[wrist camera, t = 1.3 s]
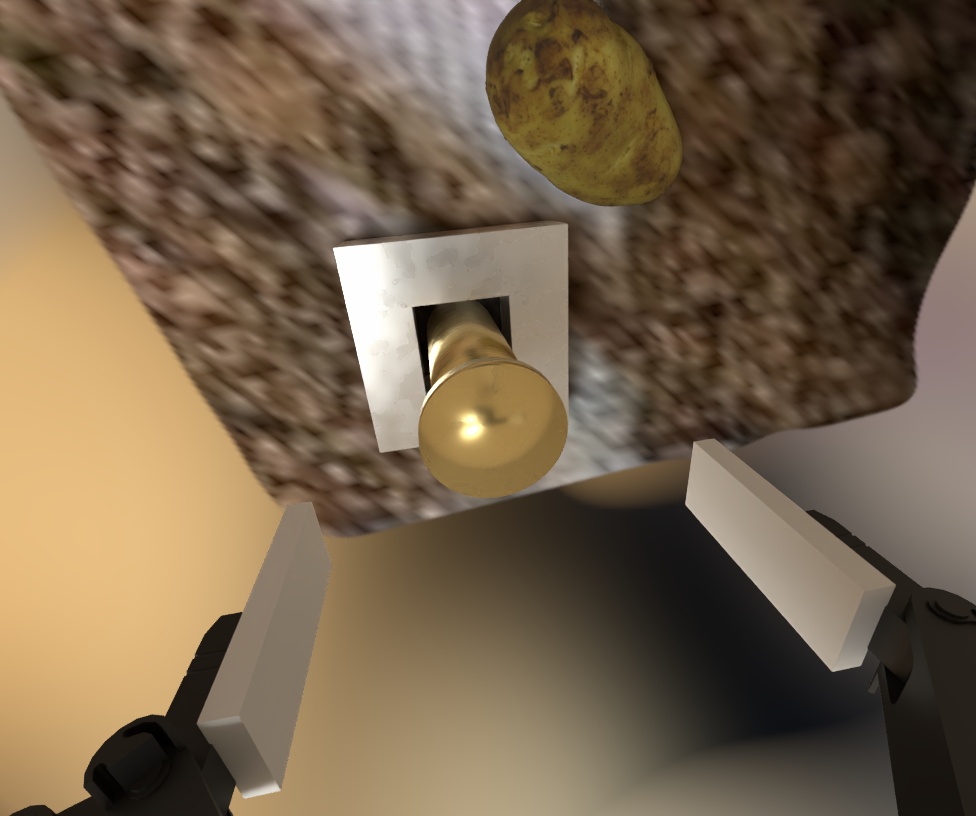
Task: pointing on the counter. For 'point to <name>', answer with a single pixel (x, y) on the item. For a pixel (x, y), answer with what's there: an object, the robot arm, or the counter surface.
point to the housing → (443, 279)
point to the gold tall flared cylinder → (485, 408)
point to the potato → (582, 103)
